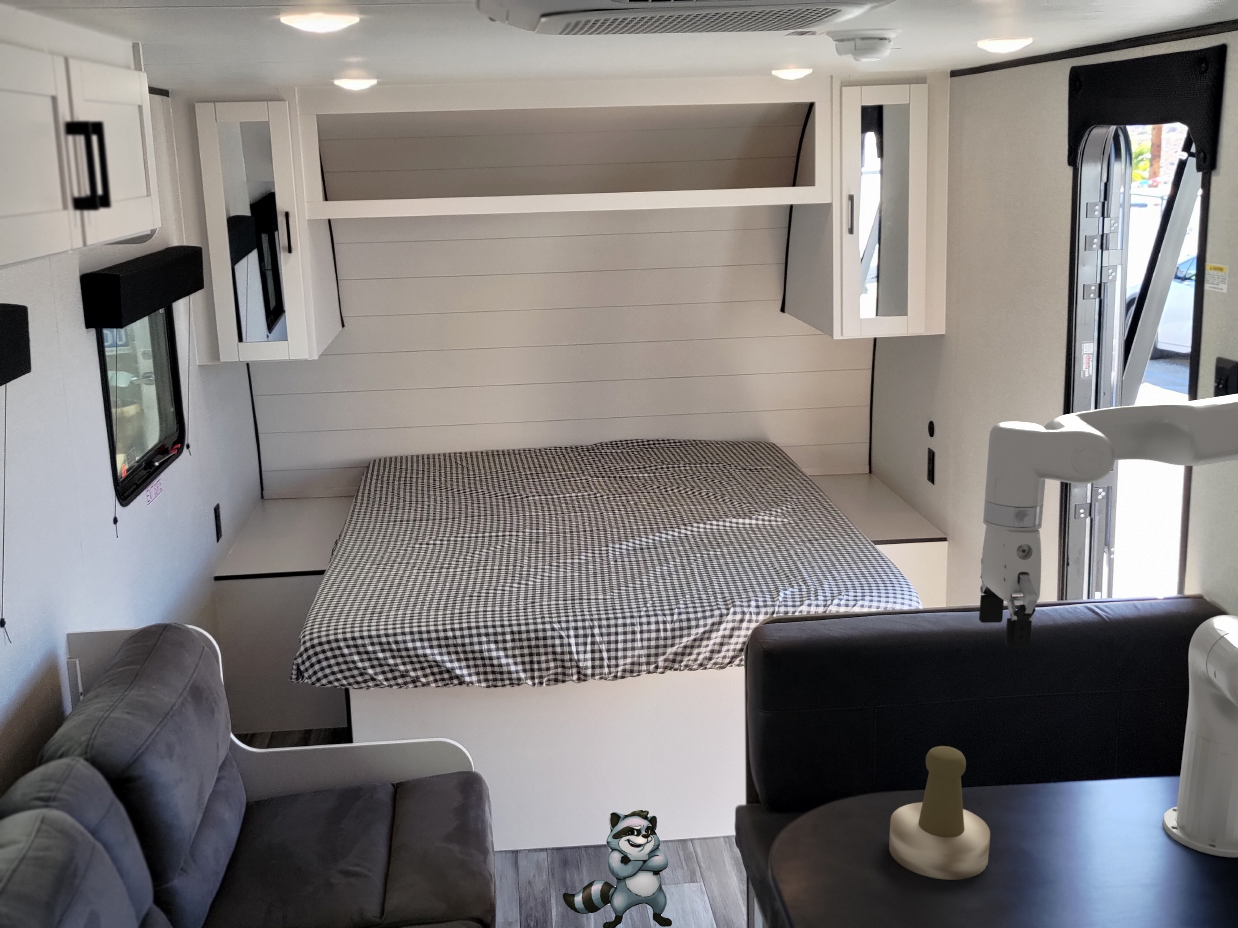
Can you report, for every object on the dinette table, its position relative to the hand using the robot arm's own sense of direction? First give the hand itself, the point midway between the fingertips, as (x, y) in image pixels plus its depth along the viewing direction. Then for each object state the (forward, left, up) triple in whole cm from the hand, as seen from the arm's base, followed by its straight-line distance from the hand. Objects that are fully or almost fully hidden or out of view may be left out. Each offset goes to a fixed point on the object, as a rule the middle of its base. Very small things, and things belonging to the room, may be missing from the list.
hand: (1003, 633), depth 159 cm
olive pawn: (+10, +8, -24) cm, 28 cm away
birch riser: (+10, +8, -28) cm, 31 cm away
